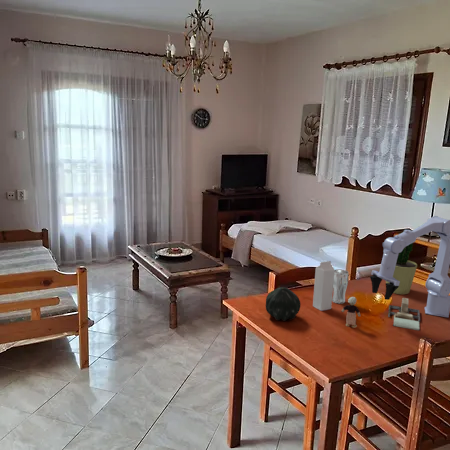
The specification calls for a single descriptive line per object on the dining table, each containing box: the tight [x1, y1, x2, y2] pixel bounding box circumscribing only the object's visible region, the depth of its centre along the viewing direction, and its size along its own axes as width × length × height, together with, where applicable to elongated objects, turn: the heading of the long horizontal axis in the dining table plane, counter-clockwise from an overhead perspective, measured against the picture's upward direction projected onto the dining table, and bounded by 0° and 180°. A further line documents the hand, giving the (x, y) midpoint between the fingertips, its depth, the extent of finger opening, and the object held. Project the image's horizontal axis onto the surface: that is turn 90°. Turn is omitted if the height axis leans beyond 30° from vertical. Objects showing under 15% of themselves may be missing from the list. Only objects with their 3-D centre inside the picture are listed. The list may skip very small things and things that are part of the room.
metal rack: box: [387, 304, 421, 323], centre depth 196 cm, size 13×12×1 cm
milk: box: [312, 260, 336, 312], centre depth 199 cm, size 6×6×22 cm
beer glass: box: [332, 268, 349, 305], centre depth 207 cm, size 7×7×15 cm
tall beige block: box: [400, 297, 409, 314], centre depth 197 cm, size 2×7×6 cm, turn 158°
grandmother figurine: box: [341, 296, 361, 329], centre depth 182 cm, size 8×4×13 cm, turn 71°
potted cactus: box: [385, 242, 418, 295], centre depth 223 cm, size 15×15×30 cm
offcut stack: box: [393, 311, 415, 321], centre depth 192 cm, size 8×3×2 cm, turn 70°
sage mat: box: [393, 316, 420, 331], centre depth 186 cm, size 10×8×1 cm
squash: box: [265, 286, 302, 322], centre depth 188 cm, size 14×15×15 cm
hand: (380, 296), depth 188 cm, fingers open, 7 cm apart
